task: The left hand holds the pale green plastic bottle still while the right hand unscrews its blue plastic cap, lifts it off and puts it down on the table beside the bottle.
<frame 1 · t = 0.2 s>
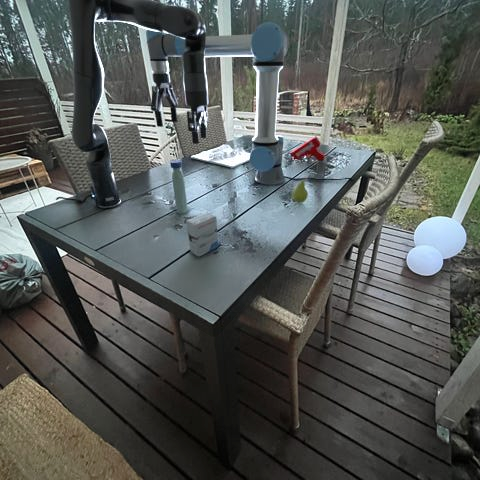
left hand: (200, 140, 97), 29 cm above the table, tool pointing down, fingers open, 8 cm apart
right hand: (167, 124, 132), 28 cm above the table, tool pointing down, fingers open, 13 cm apart
toy gun: (306, 161, 174), on the table
relief map: (224, 158, 181), on the table
fruit: (299, 202, 122), on the table
bottle: (182, 211, 115), on the table
cap: (175, 162, 104), point 21 cm above the table, screwed on, not yet turned
ink box: (204, 249, 91), on the table
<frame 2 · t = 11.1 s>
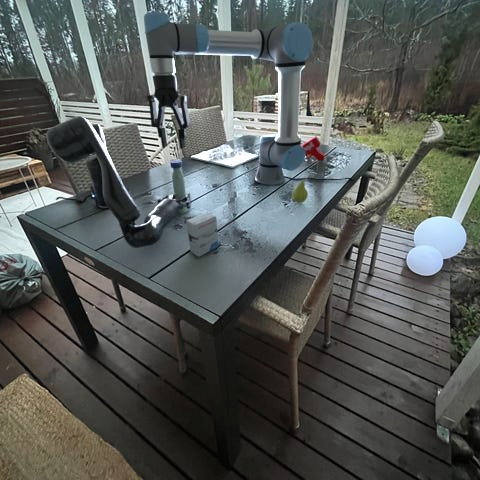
left hand: (182, 194, 113), 7 cm above the table, tool horizontal, fingers closed on bottle, 4 cm apart
right hand: (173, 147, 101), 26 cm above the table, tool pointing down, fingers open, 6 cm apart
bottle: (182, 211, 115), on the table, touching left hand
everything else where it was.
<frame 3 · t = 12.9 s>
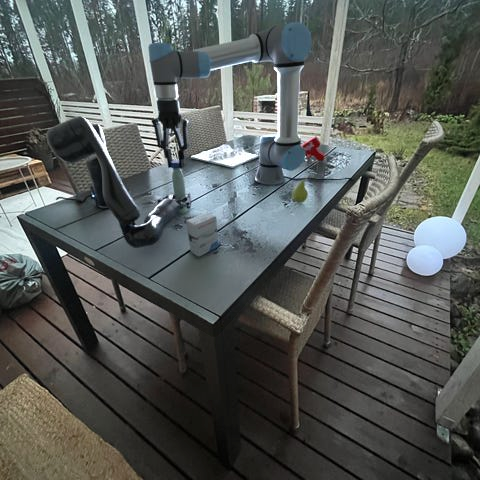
left hand: (182, 194, 113), 6 cm above the table, tool horizontal, fingers closed on bottle, 4 cm apart
right hand: (176, 166, 105), 19 cm above the table, tool pointing down, fingers closed on cap, 4 cm apart
bottle: (182, 211, 115), on the table, touching left hand
cap: (175, 162, 104), point 21 cm above the table, screwed on, not yet turned, touching right hand
everything else where it was.
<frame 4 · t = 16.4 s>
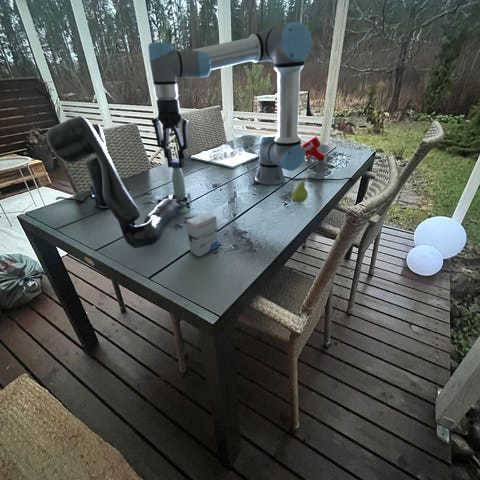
left hand: (182, 194, 113), 6 cm above the table, tool horizontal, fingers closed on bottle, 4 cm apart
right hand: (176, 166, 104), 19 cm above the table, tool pointing down, fingers closed on cap, 4 cm apart
bottle: (182, 211, 115), on the table, touching left hand
cap: (175, 161, 103), point 21 cm above the table, turned 120° so far, risen 0.1 cm, still on its thread, touching right hand
everything else where it was.
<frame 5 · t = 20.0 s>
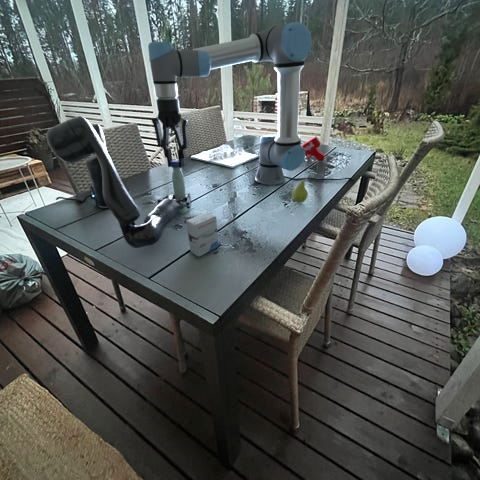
left hand: (182, 194, 113), 6 cm above the table, tool horizontal, fingers closed on bottle, 4 cm apart
right hand: (176, 166, 104), 19 cm above the table, tool pointing down, fingers closed on cap, 4 cm apart
bottle: (182, 211, 115), on the table, touching left hand
cap: (175, 161, 103), point 21 cm above the table, turned 240° so far, risen 0.3 cm, still on its thread, touching right hand
everything else where it was.
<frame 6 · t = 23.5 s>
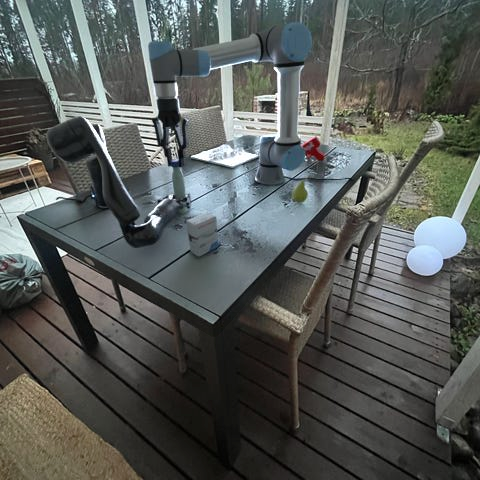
left hand: (182, 194, 113), 6 cm above the table, tool horizontal, fingers closed on bottle, 4 cm apart
right hand: (176, 165, 104), 19 cm above the table, tool pointing down, fingers closed on cap, 4 cm apart
bottle: (182, 211, 115), on the table, touching left hand
cap: (175, 160, 103), point 21 cm above the table, turned 359° so far, risen 0.4 cm, still on its thread, touching right hand
everything else where it was.
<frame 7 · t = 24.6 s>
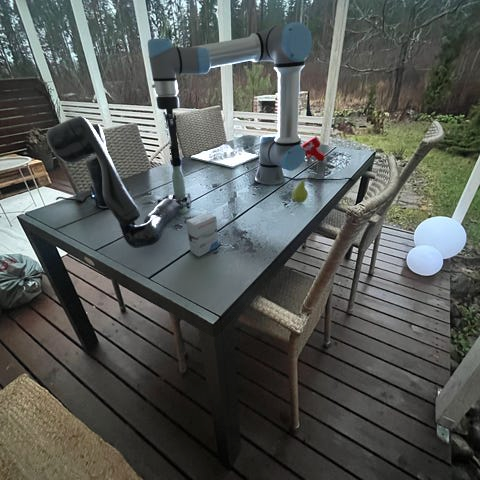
left hand: (182, 194, 113), 7 cm above the table, tool horizontal, fingers closed on bottle, 4 cm apart
right hand: (176, 164, 104), 20 cm above the table, tool pointing down, fingers closed on cap, 4 cm apart
bottle: (182, 211, 115), on the table, touching left hand
cap: (175, 159, 103), point 22 cm above the table, off its thread, touching right hand
everything else where it was.
when the right hand's fingers open (1 cm above the table, at t = 31.6 s): cap drops 2 cm, point 2 cm above the table.
when the left hand's fingers open (7 cm above the table, at t = 32.8 s): bottle stays where it is, on the table.
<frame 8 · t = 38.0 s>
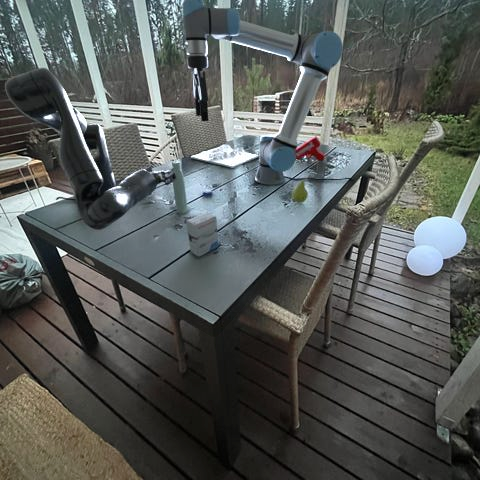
left hand: (162, 169, 94), 22 cm above the table, tool horizontal, fingers open, 8 cm apart
right hand: (202, 118, 111), 34 cm above the table, tool pointing down, fingers open, 13 cm apart
bottle: (182, 211, 115), on the table
cap: (207, 191, 128), point 2 cm above the table, off its thread
everything else where it was.
at the end: cap came off its thread; cap point 1.9 cm above the table; the left hand is holding nothing; the right hand is holding nothing; bottle tilted 0°; bottle moved 0.0 cm from its start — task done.
